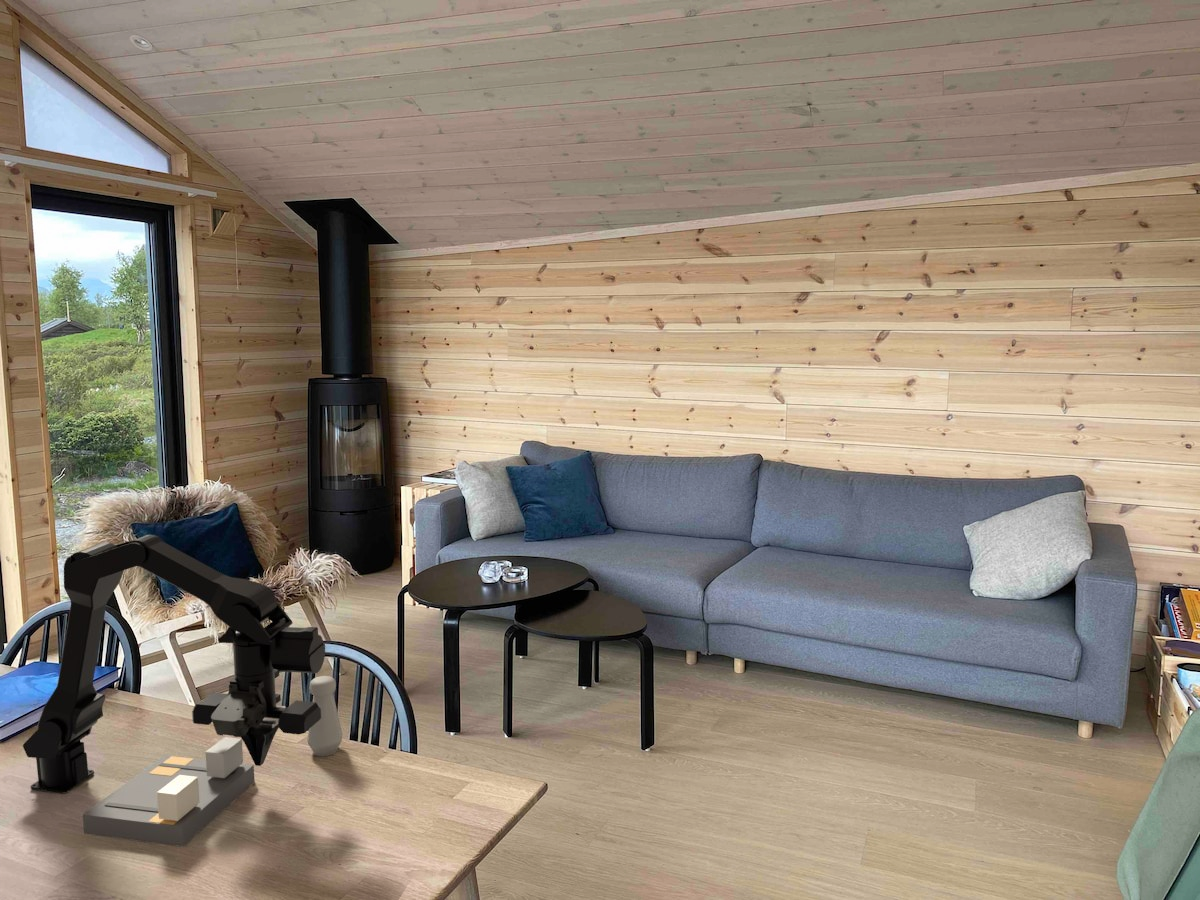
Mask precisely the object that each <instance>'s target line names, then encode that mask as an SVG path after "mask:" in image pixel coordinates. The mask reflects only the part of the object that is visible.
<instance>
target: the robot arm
mask: <svg viewBox="0 0 1200 900" xmlns="http://www.w3.org/2000/svg"><path fill="white" fill-rule="evenodd" d="M135 567H138V568H140V569H141V568H142V569H143V570H145V571H147V572H149V573H151V574H152V575H154V576H156V577H158V578H160V579H162V580H163V581H166V582H167V583H169V584H171V585H173V586H175V587H176V588H178V589H180V590H181V591H184V592H185V593H188V594H190V595H191V596H193V597H195V598H197V599H198V600H200V601H202V602H203V603H204V604H206V605H207V606H209V608H210V609H211V611H212V613H214V615H215V617H216V618H217V619H218V620H220V621H221V622H223V623H224V624H225V625H226V626H227V627H228V628H227V630H226V631H225V632H224V633H223V634H222V635H221V636H220V637H218V639H217V641H218V643H222V644H232V649H233V650H232V652H233V653H232V654H233V668H234V669H233V670H234V673H233V674H234V678H232V679H230V680H229V685H228V693H220V692H212V693H211V694H209V695H207V696H206V697H204V698H203V699H201V700H200V701H199V702H197V703H196V704H194V706H193V709H192V711H191V715H192V723H193V724H196V725H207V726H209V725H210V724H212V725H213V728H214V731H215V733H216V735H218V736H232V737H233V738H234V737H235V738H240V739H242V742H243V743H244V745H245V746H246V750H247V751H248V753H249V755H250V757H251V759H252V762H253V763H254V766H259V767H261V766H262V765H264V762H265V761H266V758H267V755H268V753H269V750H270V748H271V745H272V743H273V740H274V737H275V735H276V733H277V732H278V729H280V730H281V732H283V734H294V735H302V734H306V732H307V731H308V732H309V729H310V728H311V727H312V726H313V725H314V724H315V723H317V722H318V721H319V720H320V719H321V708H320V706H319V705H318V704H317V703H316V702H313V701H307V700H306V701H305V700H295V701H294V702H292V703H291V704H290V705H288V706H287V707H286V706H285V705H277V704H278V703H279V702H280V701H281V699H282V698H281V694H280V693H279V694H278V693H276V691H277V690H276V679H277V678H278V677H279V676H280V673H281V672H284V673H300V674H301V673H305V674H318V673H319V672H320V671H321V669H322V667H323V666H324V661H325V655H326V643H324V639H323V637H322V636H321V635H320V634H319V628H318V627H316V626H307V627H295V626H294V627H291V626H292V625H293V620H292V619H291V618H290V616H289V615H288V614H287V613H286V611H285V610H284V609H283V607H281V605H280V604H279V602H278V601H277V598H276V594H275V593H276V592H274V590H272V589H271V587H269V586H267V585H264V584H262V583H258V582H256V581H253V580H250V579H247V578H240V577H231V576H229V575H226V574H223V573H221V572H220V571H219V570H218V571H217V570H216V569H214V568H212V567H211V566H208V565H206V564H205V563H203V562H201V561H200V560H198V559H195V558H194V557H192V556H190V555H188V554H187V553H185V552H183V551H181V550H178V549H177V548H175V547H173V546H171V545H169V544H167V542H164V541H163V540H162V538H160V537H159V536H158V535H155V534H146V535H144V536H141V537H138V538H136V539H132V540H127V541H125V542H122V543H121V542H120V543H117V544H114V543H112V542H109V541H108V542H107V541H104V542H99V543H97V544H94V545H91V546H90V547H87V548H84V549H81V550H79V551H76V552H74V553H73V554H71V555H69V556H68V557H67V558H66V559H65V561H64V564H63V587H64V591H65V593H66V594H67V596H68V599H69V600H70V607H69V613H68V620H67V626H66V629H65V630H66V632H65V638H64V643H63V648H62V649H63V650H62V655H61V661H60V666H59V667H60V668H59V673H58V680H57V685H56V688H55V689H54V691H53V692H52V694H51V696H50V697H48V700H47V701H46V703H45V705H44V707H43V708H42V711H41V714H40V717H39V719H38V723H37V730H36V731H34V733H33V734H32V735H31V736H29V737H28V739H27V740H26V741H25V742H24V743H23V744H22V748H23V750H24V752H25V755H26V756H27V758H33V759H34V758H35V759H36V772H37V781H35V783H32V784H31V785H30V789H31V790H33V791H41V792H49V793H50V792H51V793H59V794H65V793H68V792H70V791H71V790H73V789H74V788H75V787H77V786H79V785H80V784H81V783H83V782H85V781H86V780H87V779H89V778H90V777H92V776H93V775H94V774H95V771H94V770H93V769H89V766H88V765H89V763H88V755H87V752H85V743H84V741H81V740H82V739H85V737H87V736H89V735H90V734H91V732H92V728H93V726H94V725H96V724H97V722H98V720H99V719H101V718H103V716H104V714H103V713H104V711H103V706H104V702H105V700H106V695H105V694H103V693H98V692H97V689H96V688H95V687H94V678H95V672H96V667H97V663H98V662H97V661H98V657H99V656H98V655H99V650H100V644H101V638H102V633H103V626H104V622H105V621H104V620H105V614H106V609H107V604H108V601H109V600H110V598H111V597H112V594H113V593H114V592H115V590H116V588H117V587H118V586H119V584H120V583H121V579H122V576H123V574H124V571H126V570H129V569H132V568H135ZM268 620H269V621H271V622H270V623H269V624H267V625H266V626H263V625H262V624H263V623H265V622H266V621H268Z"/></svg>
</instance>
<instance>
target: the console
mask: <svg viewBox="0 0 1200 900" xmlns="http://www.w3.org/2000/svg"><path fill="white" fill-rule="evenodd" d="M179 775H186V776H195V777H198V786H199V800H200V802H199V803H198V804H197V805H196V806H195V807H194V808H192V809H191V810H190V811H189V812H188V813H187V814H185V815H184V816H183V817H182V818H181V819H179V820H178V821H174V820H166V819H159V813H158V800H157V792H158V791H159V790H160V789H162V788H163V787H164V786H166V785H167V784H168V783H170V782H171V781H172V780H173V779H175V778H176V777H177V776H179ZM255 782H256V781H255V764H248V763H242V764H241V765H240V766H238V767H237V768H236V769H235V770H234V771H233V772H231V773H230V774H229V775H228V776H227V777H225V778H219V777H210V776H207V767H206V759H204V758H203V759H202V758H195V757H184V756H175V755H168V754H167V755H165V754H164V755H163V756H161V757H160V758H159V759H157V760H156V761H154V762H153V763H151V764H150V765H148V767H146V768H145V769H143V770H142V771H141V772H139V773H138V774H137V775H135V776H133V777H132V778H131V779H130V780H128V781H126V782H125V783H124V784H122V785H121V786H120V787H118V788H116V789H115V790H114V791H113V792H110V794H109V795H107V796H106V797H104V798H103V799H102V800H100V801H99V802H97V803H96V804H95V805H93V806H92V807H91V808H89V809H88V810H87V811H85V812H84V813H82V822H83V823H82V824H83V834H84V835H90V834H91V835H90V836H98V837H99V836H100V837H106V838H114V839H124V840H128V841H129V840H131V841H139V842H144V843H145V842H147V843H153V844H159V845H160V844H162V845H169V846H176V847H184V846H186V845H187V844H188V843H190V841H191V840H193V838H195V837H196V836H197V835H198V834H199V833H201V831H203V830H204V829H205V828H206V827H207V826H208V825H209V824H210V823H211V822H213V821H214V820H215V819H216V818H217V817H219V815H220V814H222V812H224V811H225V810H226V809H227V808H228V807H229V806H231V804H233V802H235V801H236V800H237V799H238V798H240V796H241V795H242V794H244V793H245V791H247V790H248V789H249V788H251V786H253V785H254V784H255Z"/></svg>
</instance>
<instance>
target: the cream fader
mask: <svg viewBox="0 0 1200 900" xmlns="http://www.w3.org/2000/svg"><path fill="white" fill-rule="evenodd" d="M157 800H158V813H159V819H166V820H174V821H178V820H179V819H181V818H182V817H183V816H184V815H185V814H187V813H188V812H189V811H190V810H191V809H192V808H194V807H195V806H196V805H197V804H198V803H199V802H200V800H199V786H198V777H195V776H186V775H179V776H177V777H176V778H175V779H173V780H172V781H171V782H170V783H168V784H167V785H166V786H164V787H163V788H162V789H160V790H159V791H158V792H157Z"/></svg>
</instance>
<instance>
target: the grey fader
mask: <svg viewBox="0 0 1200 900" xmlns="http://www.w3.org/2000/svg"><path fill="white" fill-rule="evenodd" d="M205 760H206V767H207V776H210V777H219V778H225V777H227V776H228V775H229V774H230V773H231V772H233V771H234V770H235V769H236V768H237V767H238V766H240V765H241V764H244V752H243V740H242V738H239V737H235V738H234V737H226V736H224V737H223V738H221V739H220V740H219V741H218V742H216V743H215V744H214V745H213V746H210V748H209V749H207V750H206V751H205Z"/></svg>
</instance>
